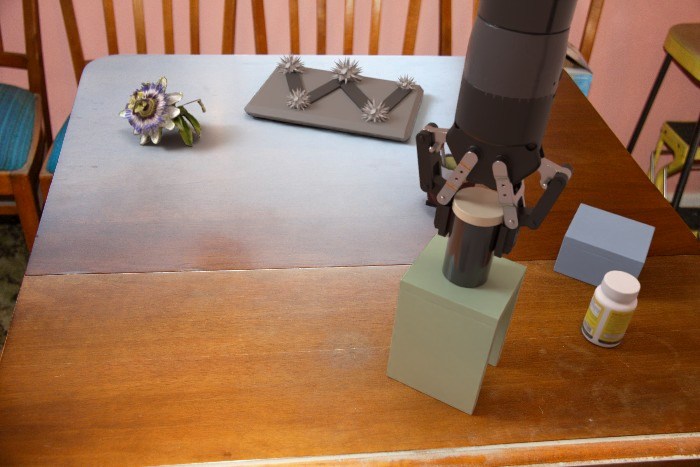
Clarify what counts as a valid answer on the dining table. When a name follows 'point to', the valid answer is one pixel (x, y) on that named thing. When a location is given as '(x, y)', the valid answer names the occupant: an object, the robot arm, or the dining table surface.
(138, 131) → the passion flower
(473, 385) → the notched sage green block
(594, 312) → the supplement bottle
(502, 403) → the dining table surface
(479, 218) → the spice jar
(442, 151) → the mate gourd
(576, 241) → the blue grey block
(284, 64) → the spiky constellation board
